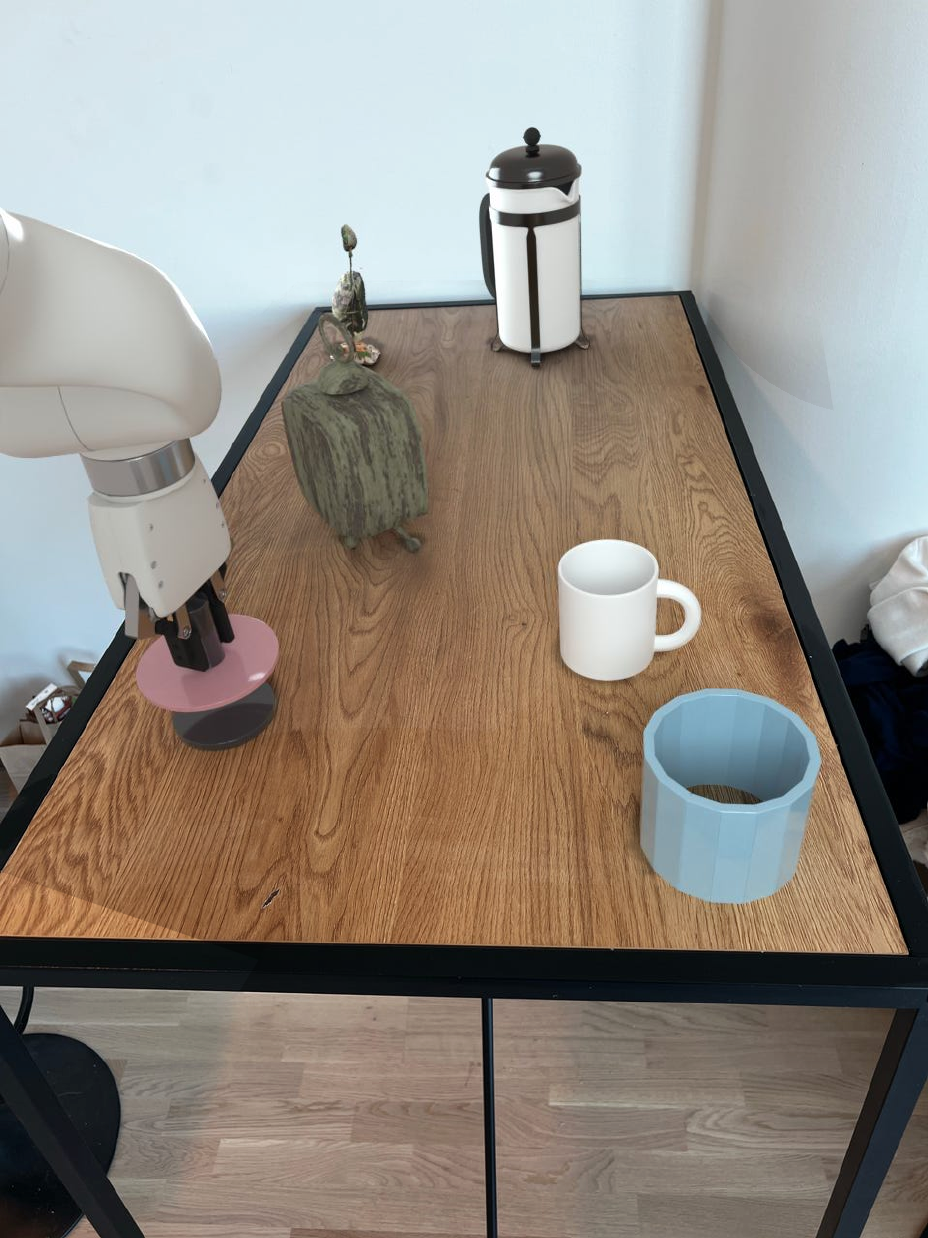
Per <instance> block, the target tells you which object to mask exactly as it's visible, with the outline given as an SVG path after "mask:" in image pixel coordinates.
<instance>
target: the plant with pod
mask: <svg viewBox="0 0 928 1238" xmlns="http://www.w3.org/2000/svg"><path fill="white" fill-rule="evenodd" d="M340 235H341V239H342V246H343V250H344V252H346V253H347V255H348V258H349V270H348V271H345V273H343V274H342V276H341V277H340V278H339V280H338V283H337V286H336V288H335V290H334V291H333V295H332V298H331V302H330V303H331V311H332V316H334V317H335V318H337V319H338V320H339V321H340V322H341V323H342V324H343V325H344V326H345V328H346V329H347V331H348V333H349V335H350V337H351V340H352V344H353V348H354V358H353V360H354V361H356V362H358V363H359V364H360V365H367V366H372V365H373V364H375V363H376V362H377V360H378V358H379V355H380V354H381V350H379V348H375V345H372V344H370V343H368V344H366V343H365V342H364V341H362V340H363V337H364V334H365V332H366V329H367V327H368V322H369V309H368V306H367V301H366V294H367V293H366V289H365V282H364V280H363V276H362V275H361V273H360V271H356V270H352V266H353V264H352V258H353V256H354V255H353V250H355V249H356V247H357V245H358V238H357V236H356V233H355V231H354V230H353V229H352V227H351V226H349V225H348V223H345V224H344V225H343V226H341V228H340ZM361 269H363V268H362V267H359V270H361ZM340 345H341V346H342V347H343V352H344V355H345V356H349V347H348V345H347V342H346V341H345V342H343V343H341V344H340ZM370 350H372V352H371V351H370ZM329 358H330V359H331V360H332V361H334V357H333V356H332V355H331V354H330V356H329Z"/></svg>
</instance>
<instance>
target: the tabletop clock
mask: <svg viewBox="0 0 928 1238" xmlns="http://www.w3.org/2000/svg"><path fill="white" fill-rule="evenodd" d="M325 321H326V322H328V323H329V324H331V325H333V326H334V327H335V328H336V329H338V331H339V332H340V334H341V336H343V338H344V340H345V342H347V345H348V347H349V356H345V355H344V352H343V347H342V346H341V345H340V344H339V343H336V344H334V345H332V344H331V343H330V342H329V340H328V339H327V337H326V335H325V332H324V324H325ZM317 327H318V332H319V336H320V339H321V341H322V343H323V345H324V347H325V349H326V350H327V352H328V353H329V355H330V356H331V355H332V356H333V357H334V359H333V360H334V361H333V360H331V361H329V362H328V363H327V364H326V365H324V366H323V368H322V369H321V370H320V372H319V374H318V377H317V379H314V380H311V381H308V382H305V383H301V384H299V385H296V386H293V387H292V388H291V389H290V390H289V391H288V393H287V394H286V395H285V396H284V398H283V399H282V400H281V401H280V403H281V414H282V420H283V426H284V430H285V435H286V440H287V445H288V449H289V453H290V458H291V461H292V466H293V470H294V473H295V477H296V480H297V483H298V487H299V490H300V493H301V494H302V497H303V498H304V499H305V501H306V503H308V505H309V506H310V507H311V508H312V509H313V510H314V511H315V512H316V513H317V514H318V515H319V517H320V518H321V519H322V520H323V521H324V522H325V523H326V524H327V525H329V526H330V527H331V528H332V529H334V530H335V531H336V532H337V533H338V534H340V535H341V536H344V543H345V546H346V547H348V548H349V549H355V548H356V547H358V546H359V544H360V539H369V538H372V537H373V536H376V535H379V534H382V533H384V532H386V531H388V530H391V529H392V530H394V531H396V532H397V534H398V535H400V537H402V538H403V539H404V541H405V548H406V551H408V552H410V553H414V554H415V553H417V552H419V550H420V549H421V546H422V545H421V542H420V539H418V538H417V537H412V536H410V535H409V534H408V532H407V531H406V530H405V528H404V527H403V524H406V523H407V522H411V521H413V520H415V519H418V518H420V517H422V516H425V515H428V512H429V505H430V503H429V502H430V500H429V499H430V498H429V495H430V494H429V482H428V472H427V470H428V469H427V463H426V457H425V450H424V444H423V438H422V433H421V429H420V424H419V420H418V417H417V414H416V410H415V407H414V404H413V403H412V402H411V400H410V399H409V397H408V396H407V395H406V394H405V393H404V392H403V391H402V390H401V389H400V388H399V387H398V386H396V385H395V384H393V383H392V382H391V381H390V380H388V378H386V377H384V375H382V374H380V373H378V372H377V371H374V370H373V369H371V368H368V367H366V366H364V365H362V364H359V363H358V362H356V361H354V360H353V358H354V348H353V344H352V340H351V337H350V336H351V334H350V332H349V331H348V330H347V329H346V328H345V326H344V325H343V324H342V323H341V322H340V321H339V320H338V319H337V318H335V317H334V315H333V314H329V313H323V314H321V315H320V316H319V318H318V321H317Z"/></svg>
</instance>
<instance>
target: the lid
mask: <svg viewBox="0 0 928 1238" xmlns="http://www.w3.org/2000/svg"><path fill="white" fill-rule="evenodd" d="M185 605H186V609H187V613H188V617H189V621H190V625H191V629H192V630H196V631H198V632H199V634H200V637H201V640H202V643H203V646H204V649H205V652H206V655H207V657H208V660H209V663H210V664H209V666H210V667H209V668H208V669H207V671H206V672H201V671H197V670H192V669H188V668H184V667H179V666H177V665H176V664H175V663H174V661H173V658H172V656H171V653H170V650H169V648H168V645H167V642H166V640H165V637H164V635H160V637H159V638H157V639H156V640H155V641H154V642H153V643H152V644H151V645H150V646H149V647H148V648H147V649H146V650H145V652H144V653H143V654H142V656H141V658H140V659H139V661H138V663H137V666H136V671H135V680H136V684H137V687H138V690H139V692H140V693H141V695H142V697H143V698H144V699H145V700H146V701H147V702H148V703H151V705H154V706H155V707H157V708H159V709H163V710H166V711H170V712H174V711H175V712H198V711H206V710H210V709H215V708H218V707H222V706H225V705H227V704H230V703H233V702H235V701H237V700H239V699H241V698H243V697H245V696H246V695H248V694H250V693H251V692H252V691H254V690H255V689H257V688H258V687H259V686H260V685H261V684H262V683H264V682H265V681H266V680H267V679H269V678H270V677H271V675H272V673H273V672H274V671H275V669H276V667H277V665H278V662H279V659H280V655H281V648H280V647H281V646H280V643H279V638H278V636H277V634H276V632H275V631H274V630H273V628H271V626H269V625H268V624H267V623H265V622H264V621H262V620H261V619H258V618H255V617H252V616H248V615H243V614H233V613H232V614H231V613H228V617H229V620H230V623H231V626H232V629H233V633H234V636H235V639H234V640H233V641H232V642H231V643H223V642H222V641H221V638H220V635H219V632H218V628H217V625H216V622H215V619H214V616H213V613H212V610H211V607H210V604H209V601H208V598H207V596H206V595H205V594H204V593H202V592H198V591H196V592H195V593H194V594H193V595H192V596H191V597H190V598H189V599H188V600H187V601H186V602H185ZM266 682H267V681H266Z"/></svg>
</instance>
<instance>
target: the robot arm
mask: <svg viewBox="0 0 928 1238" xmlns="http://www.w3.org/2000/svg"><path fill="white" fill-rule="evenodd" d="M218 362H219V361H218V359H217V356H216V353H215V350H214V347H213V345H212V343H211V340H210V339H209V336H208V334H207V332H206V330H205V328H204V326H203V325H202V323H201V321H200V319H199V318H198V316H197V315H196V313H195V312H194V310H193V309H192V307H191V305H190V304H189V303H188V302H187V300H186V298H185V297H184V296H183V294H182V292H181V291H180V290H179V288H178V287H177V285H175V283H174V282H173V281H172V280H171V279H170V278H169V276H167V274H165V272H163V271H162V270H160V268H158V267H156V266H155V265H154V264H153V263H150V262H148V261H147V260H145V259H143V258H141V257H139V256H137V255H136V254H134V253H131V252H128V251H126V250H124V249H121V248H119V247H116V246H114V245H111V244H108V243H105V242H103V241H100V240H96V239H94V238H92V237H91V238H90V237H87V236H85V235H83V234H80V233H77V232H74V231H72V230H69V229H65V228H63V227H60V226H57V225H55V224H52V223H49V222H47V221H44V220H40V219H36V218H33V217H30V216H26V215H24V214H19V213H15V212H12V211H9V210H5V209H3V208H1V207H0V453H1V454H3V455H5V456H9V457H13V458H19V459H43V458H51V457H60V456H68V455H76V454H79V457H80V460H81V463H82V465H83V468H84V470H85V472H86V475H87V477H88V480H89V483H90V485H91V488H92V491H93V492H91V494H90V495H89V496H88V497H87V508H88V511H87V512H88V518H89V522H90V523H89V524H90V530H91V534H92V538H93V543H94V547H95V551H96V555H97V558H98V561H99V564H100V568H101V571H102V574H103V577H104V581H105V583H106V586H107V589H108V591H109V592H108V593H109V595H110V597H111V600H112V602H113V603H114V606H115V607H116V608H117V609H118V610H120V611H125V612H124V635H125V636H126V637H127V638H130V639H134V640H140V641H143V640H147V639H151V638H154V637H156V636H163V635H164V637H165V640H166V642H167V645H168V648H169V650H170V653H171V656H172V658H173V661H174V663H175V664H176V665H177V666H179V667H184V668H188V669H192V670H197V671H201V672H206V671H207V669H208V668H209V667H210V666H209V664H210V663H209V660H208V657H207V655H206V652H205V649H204V646H203V643H202V640H201V637H200V634H199V632H198V631H196V630H192V629H191V625H190V621H189V617H188V613H187V609H186V605H185V602H186V601H187V600H188V599H189V598H190V597H191V596H192V595H193V594H194V593H195V592H196V591H198V592H202V593H204V594H205V595H206V596H207V598H208V601H209V604H210V607H211V610H212V613H213V616H214V619H215V622H216V625H217V628H218V632H219V635H220V638H221V641H222V642H223V643H231V642H232V641H233V640H234V639H235V636H234V633H233V629H232V626H231V623H230V620H229V617H228V614H229V613H228V611H227V610H228V609H227V607H226V603H225V602H223V601H225V600H226V598H227V594H228V590H227V587H226V585H225V578H226V574H227V571H228V570H227V569H228V562H229V560H230V557H231V555H232V553H233V550H234V547H235V540H234V538H232V537H231V536H230V532H229V528H228V524H227V519H226V517H225V514H224V512H223V511H224V510H223V508H222V505H221V503H220V500H219V497H218V495H217V492H216V490H215V488H214V485H213V483H212V480H211V478H210V476H209V474H208V472H207V470H206V468H205V466H204V464H203V462H202V460H201V459H200V457H199V455H198V453H197V452H196V451H194V448H193V445H192V442H191V438H195V437H197V436H199V435H201V434H202V433H204V432H205V431H207V430H208V429H209V428H210V427H211V425H213V423H214V421H215V420H216V418H217V416H218V414H219V411H220V408H221V401H222V391H223V388H222V376H221V370H220V365H219V363H218ZM169 616H171V618H172V620H169V619H168V617H169Z"/></svg>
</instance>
